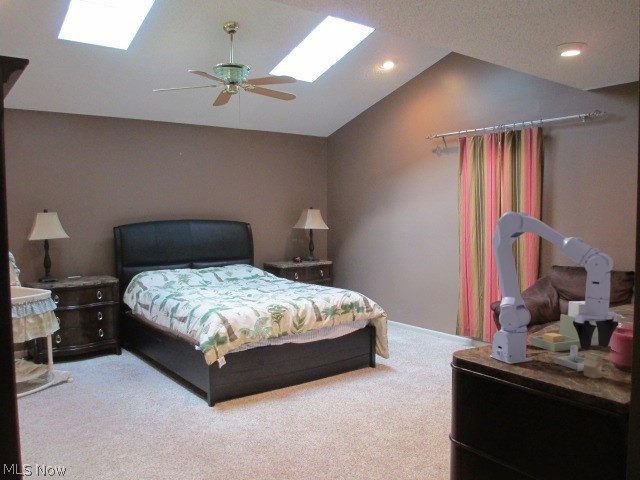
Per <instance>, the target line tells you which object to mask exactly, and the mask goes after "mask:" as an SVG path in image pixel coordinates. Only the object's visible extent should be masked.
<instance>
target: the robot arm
mask: <svg viewBox="0 0 640 480" xmlns="http://www.w3.org/2000/svg"><path fill="white" fill-rule="evenodd" d="M494 231H495V232H494V233H493V234H494V235H493V236H492V240H491V241H492V243H491V244H492V248H493V254H494V255H493V256H494V259H495V265H496V271H497V276H498V281H499V287H500V292H501V297H502V298H501V301H500V304H499V309H500V313H499V316H498V322H499V324H500V327H501V328H500V330H498V331H496V332H494V334H493V336H492V347H491V354H490V355H489V357H490V358H492V359H496V360H498V361H501V362H503V363H507V364H510V365H512V364H519V363H525V362H532V361H533V359H532V358H529V357H527V356H526V354H527V338H528V328H527V325H528V324H529V323H530V321H531V317H532V316H531V313H530V310H529V309H528V308H527V306H526V302H525V301H524V298H523V297H522V295H521V290H520V286H519V279H518V275H517V270H516V269H517V267H516V264H515V257H514V252H513V248H512V247H513V246H512V245H513V244H514V242H516V240H517V239H518V238H519V237H520V236H521V235H523V234H525V233H530V234H531V233H532V234H536V235H537V236H539V237H541V238H543V239H544V240H547V241H548V242H550V243H551V244H553V245H555V246H557V247H559V250H560V253H561V255H563V256H565V257H566V258H568V260H571V261H573V262H574V263H576V264H578V265H579V266H580V267H584V269H585V271H586V272H587V273H586V281H585V282H586V283H585V294H584V295H585V298H584V301H585V311H584V313H581V314H578V315H575V321H573V325H574V327H575V329H576V331H577V334H578V337H579V341H580V346H581V348H580V349H582V350H588V351H589V350H591V346H592V345H591V340H592V335H593V332H594V330H595V328H596V327H597V329H598V346H600V347H603V348H608V346H609V344H610V341H611V339H612V336H613V333H614V332H615V331H616V329H617V327H619V321H616V320H617V313H616V312H613V311H609V310H610V296H611V271H612V269H613V268H614V260H613V259H612V257H611V256H610V255H609V254H608V253H606V252H600V249H599V248H597V247H595V248H594V247H592V246H591V245H589V244H588V243H585V242H584V238H582V237H575V236H571V237H567V236H564V235H563V234H561V233H560V232H559V231H557V230H555V229H554V228H552V227H551V226H550V225H548V224H546V223H544V222H543V221H541V220H539V219H537V218H536V217H534V216H532V215H528V213H525V212H523V211H521V212H516V211H513V210H512V211H507V212H505V213H503V214H501V216H500V217H499V219H497V220H496V228H495V230H494ZM593 321H595V322H596V325H597V326H596V325H591V323H590V322H593Z"/></svg>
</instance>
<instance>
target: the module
mask: <svg viewBox="0 0 640 480" xmlns="http://www.w3.org/2000/svg"><path fill="white" fill-rule="evenodd" d="M542 336H543V340H545V341H549V342H552V343H558V342H563V339H564V335H560V334H559V333H556V332H550V333H549V332H547V333H543V334H542Z"/></svg>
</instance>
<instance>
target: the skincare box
mask: <svg viewBox="0 0 640 480" xmlns="http://www.w3.org/2000/svg"><path fill="white" fill-rule="evenodd" d="M584 311H585V300H580V301H577V300H570V301H568V312H567V313H568V314H567V315H568V316H573V317H575V315H578V314H581V313H584ZM590 323H591V325H596V322H595V321H593V322H590ZM596 326H597V325H596ZM568 337H569V336H568ZM591 346H599V343H598V329H597V327H596V328H595V330H594V332H593V335H592V340H591Z"/></svg>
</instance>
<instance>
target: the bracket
mask: <svg viewBox="0 0 640 480" xmlns="http://www.w3.org/2000/svg"><path fill="white" fill-rule="evenodd" d="M569 351H570V352H569V355H563V356H557V357H555V356H554V360H553V361H554V363H555V364H558V365H560V366H563V367H566V368H570V369H572V370H573V371H574V372H584V359H585V357H582V356H578V353H579V352H578V351H579V348H578V346H576V345H571V349H570V350H569Z"/></svg>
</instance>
